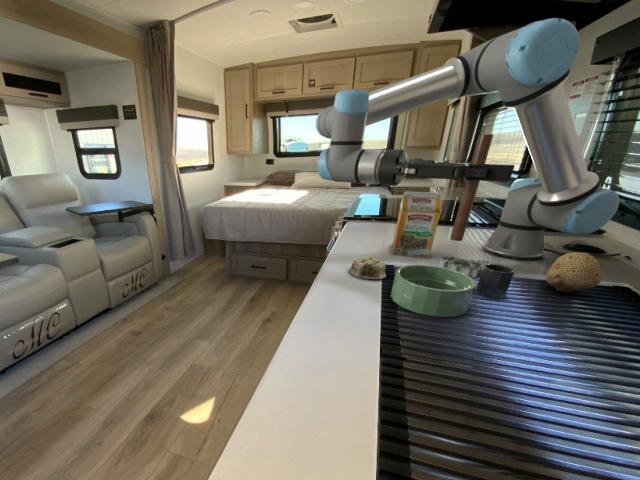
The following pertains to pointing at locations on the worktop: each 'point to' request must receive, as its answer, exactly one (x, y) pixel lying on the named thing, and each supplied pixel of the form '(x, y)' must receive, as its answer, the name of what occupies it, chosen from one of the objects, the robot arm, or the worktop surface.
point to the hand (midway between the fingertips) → (510, 173)
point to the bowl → (432, 290)
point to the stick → (470, 188)
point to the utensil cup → (494, 281)
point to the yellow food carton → (417, 223)
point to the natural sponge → (574, 272)
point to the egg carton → (463, 265)
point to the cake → (368, 268)
